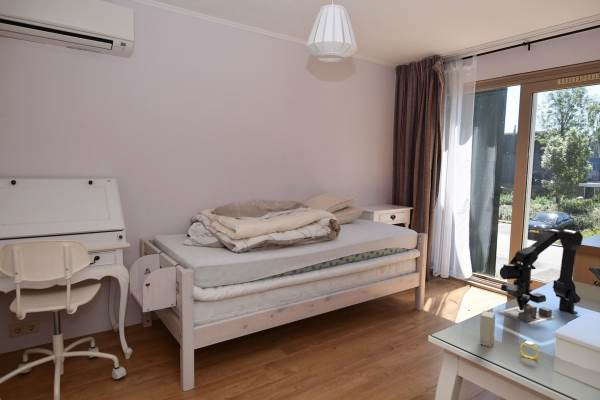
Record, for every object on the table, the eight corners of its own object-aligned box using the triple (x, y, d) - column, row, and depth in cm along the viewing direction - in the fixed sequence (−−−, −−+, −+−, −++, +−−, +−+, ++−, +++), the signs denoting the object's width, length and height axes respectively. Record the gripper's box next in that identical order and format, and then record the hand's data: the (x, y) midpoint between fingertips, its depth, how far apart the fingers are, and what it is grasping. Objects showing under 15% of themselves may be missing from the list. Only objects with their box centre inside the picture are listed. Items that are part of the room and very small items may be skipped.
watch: (519, 357, 137) (518, 341, 137) (520, 354, 139) (520, 339, 139) (538, 361, 134) (538, 345, 133) (539, 358, 136) (538, 342, 135)
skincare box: (491, 348, 144) (492, 318, 142) (478, 344, 146) (480, 315, 145) (494, 341, 149) (495, 312, 147) (482, 338, 151) (483, 310, 150)
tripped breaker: (527, 313, 172) (528, 303, 172) (536, 316, 169) (536, 306, 168) (523, 314, 171) (524, 304, 171) (531, 317, 168) (532, 307, 167)
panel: (523, 307, 182) (523, 299, 182) (556, 320, 168) (557, 311, 167) (497, 313, 175) (498, 305, 175) (530, 327, 161) (530, 318, 160)
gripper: (493, 274, 177) (492, 305, 179) (531, 286, 160) (528, 321, 162) (509, 271, 182) (508, 302, 183) (547, 283, 165) (545, 316, 166)
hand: (521, 310), depth 174 cm, fingers closed
